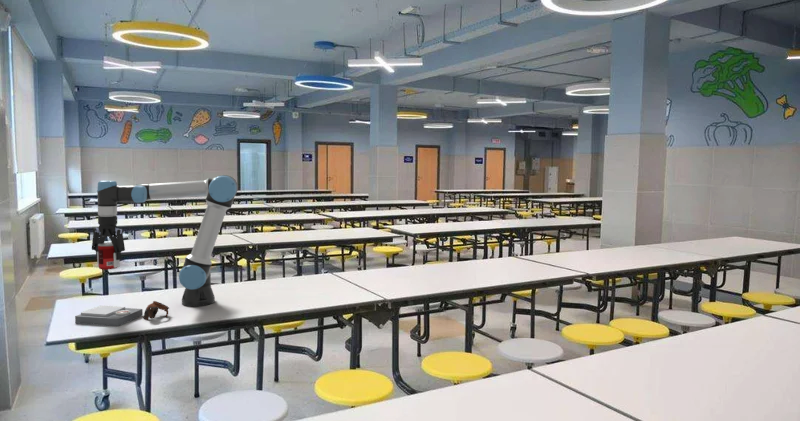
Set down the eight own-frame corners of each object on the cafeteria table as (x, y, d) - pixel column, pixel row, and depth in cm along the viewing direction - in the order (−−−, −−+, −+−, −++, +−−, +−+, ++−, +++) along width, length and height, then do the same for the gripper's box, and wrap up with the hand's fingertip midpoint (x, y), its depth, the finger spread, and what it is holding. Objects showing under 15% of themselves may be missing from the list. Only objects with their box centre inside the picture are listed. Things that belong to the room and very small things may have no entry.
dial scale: (142, 315, 238) (142, 306, 238) (118, 326, 222) (118, 316, 222) (102, 312, 241) (101, 304, 241) (75, 323, 226) (75, 313, 225)
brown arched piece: (143, 316, 239) (153, 299, 241) (163, 325, 240) (173, 308, 242) (137, 317, 227) (147, 299, 229) (158, 326, 229) (168, 308, 231)
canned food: (122, 266, 242) (121, 242, 241) (110, 270, 234) (110, 245, 234) (106, 265, 243) (106, 241, 243) (94, 269, 236) (94, 244, 235)
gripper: (133, 215, 239) (134, 266, 241) (94, 213, 243) (95, 263, 245) (121, 217, 231) (122, 269, 233) (81, 215, 235) (82, 266, 237)
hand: (108, 266), depth 239 cm, fingers closed on canned food, 8 cm apart
